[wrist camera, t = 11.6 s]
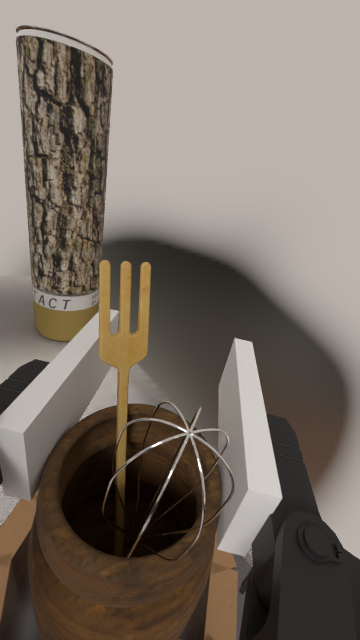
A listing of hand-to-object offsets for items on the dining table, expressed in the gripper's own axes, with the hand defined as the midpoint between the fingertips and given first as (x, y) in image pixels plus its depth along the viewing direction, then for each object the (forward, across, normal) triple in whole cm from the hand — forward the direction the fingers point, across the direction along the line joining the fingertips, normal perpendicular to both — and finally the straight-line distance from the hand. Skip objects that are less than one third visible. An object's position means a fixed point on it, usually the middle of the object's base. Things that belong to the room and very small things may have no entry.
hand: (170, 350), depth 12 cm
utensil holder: (-5, 0, -8) cm, 9 cm away
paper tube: (+16, -13, -12) cm, 24 cm away
